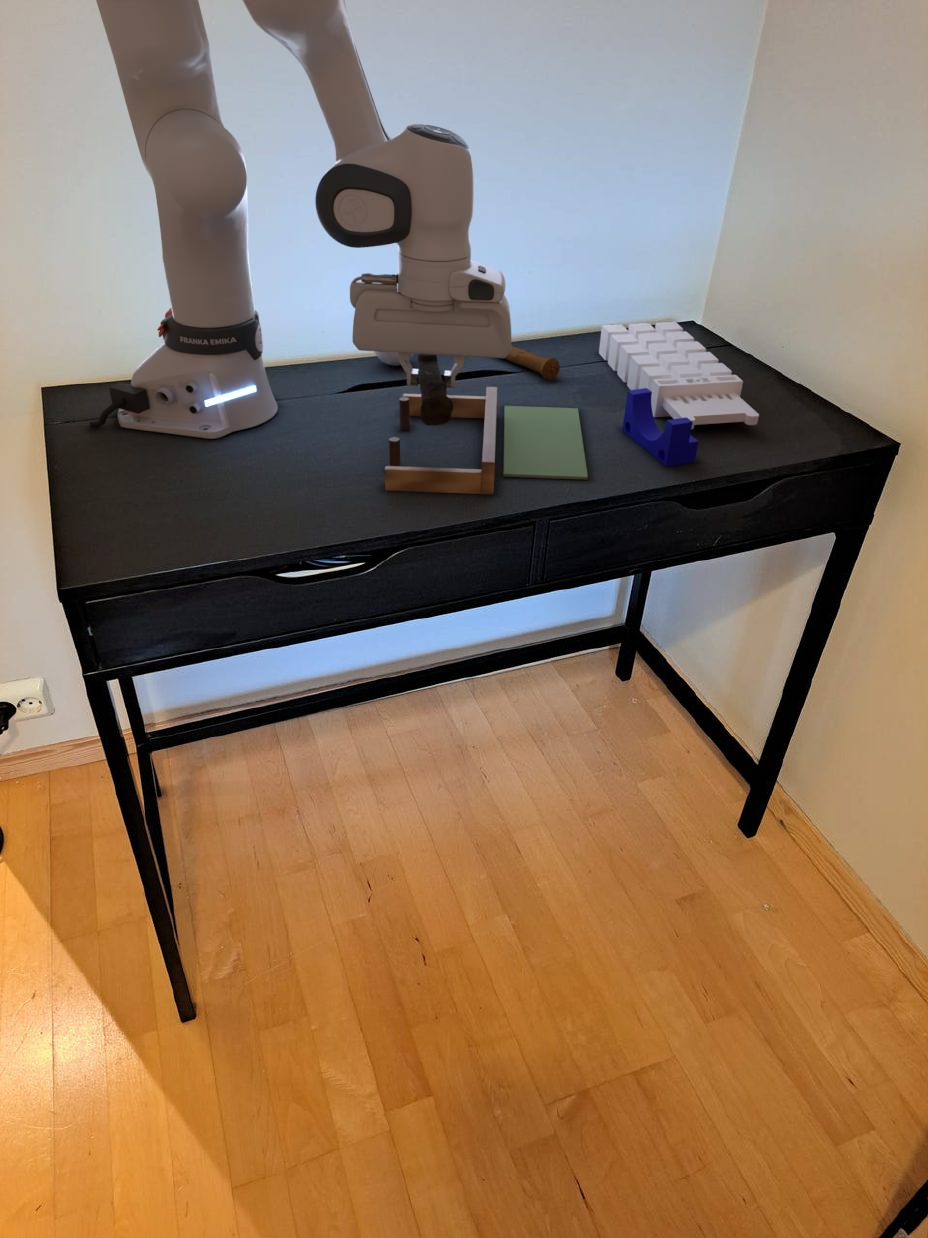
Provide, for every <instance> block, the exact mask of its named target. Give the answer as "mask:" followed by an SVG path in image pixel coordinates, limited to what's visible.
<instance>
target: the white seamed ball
mask: <svg viewBox="0 0 928 1238" xmlns="http://www.w3.org/2000/svg"><path fill="white" fill-rule="evenodd" d="M373 352H374V354H375V355H376V357H377V358H378V360H380V361H381V362H382V363H383V364H385V365H389V366H391V367H392V366H393V367H399V366H401V364H400V362H399V361H398V353H397V352H378V351H373ZM414 355H415V353H410V358H409V361H411V359H412V358H413V357H414Z"/></svg>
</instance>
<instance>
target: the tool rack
mask: <svg viewBox="0 0 928 1238" xmlns="http://www.w3.org/2000/svg"><path fill="white" fill-rule="evenodd" d="M446 395H447V397H449V398H450V399H451V400H452V402H453V411H452V413H451V418H466V419H484V420H483V436H482V437H483V440H482V453H481V455H482V456H481V468H480V469H478V468H456V467H455V468H454V467H453V468H452V467H426V466H404V465H403V466H402V464H401V462H402V461H401V438H400V437H397V436H392V437H390V438H388V448H389V449H388V450H389V452H388V453H389V465H385V467H384V488H385V491H387V492H388V491H392V492H418V493H441V494H442V493H445V494H471V495H472V494H473V495H494V492H495V472H496V471H495V470H496V445H497V444H496V441H497V414H498V412H497V410H498V386H486V387H485V395H484V396H483V395H481V396H480V395H479V396H478V395H457V394H456V395H455V394H453V395H452V394H446ZM398 403H399V406H398V409H399V430H401V431H409V430H410V428H411V423H410V422H411V420H410V417H421V412H420V411H421V405H422V401H421V393H402V397H399V399H398Z"/></svg>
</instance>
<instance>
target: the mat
mask: <svg viewBox="0 0 928 1238" xmlns="http://www.w3.org/2000/svg"><path fill="white" fill-rule="evenodd" d="M503 412H504V418H503V423H504V424H503V470H502V471H503V473H502V474H503V475H502V476H503V477H506V478H508V477H510V478H532V479H534V478H536V479H559V480H560V479H561V480H562V479H563V480H565V479H566V480H585V481H587V480H588V479H589V476H588V469H587V461H586V455H585V454H586V453H585V448H584V439H583V434H582V433H583V432H582V427H581V419H580V413H579V408H578V407H555V406H554V407H551V406H522V405H504V411H503Z"/></svg>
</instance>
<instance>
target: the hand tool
mask: <svg viewBox="0 0 928 1238" xmlns="http://www.w3.org/2000/svg"><path fill="white" fill-rule="evenodd" d="M417 369H419V376H418V377H419V384H418V385H419V389H420V390H419V391H420V394H421V401H422V405H421V411H420V412H421V416H419V418H420V420H421V422H423V424H424V425H425V426H427V427H428V426H431V427H432V426H442V425H444V424H445V425H446V424H448V423H449V422H450V421H451V419H452V417H451V413H452V411H453V402H452V400H451V399H450V398H449V397H447V395H448V393H447V389H448V388H447V385H446V383H445V382H444V380H443V378H442V375H441V371H440V368H439V364H438V355H434V354H417Z"/></svg>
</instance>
